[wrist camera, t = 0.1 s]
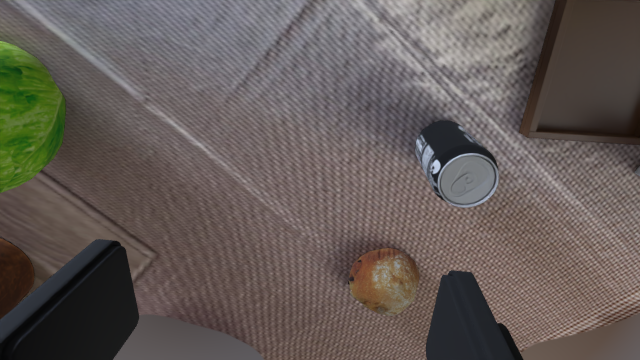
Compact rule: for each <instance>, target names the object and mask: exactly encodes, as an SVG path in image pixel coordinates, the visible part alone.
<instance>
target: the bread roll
mask: <svg viewBox="0 0 640 360" xmlns="http://www.w3.org/2000/svg"><path fill="white" fill-rule="evenodd" d="M418 281H419V271H418V268H417V265H416V263H415V261H414V260H413V259H412V258H411V257H410V256H408V255H407V254H405V253H404V252H402V251H399V250H396V249H392V248H385V249H378V250H374V251H370V252H367V253H365V254H364V255H363V256H361V257H360V258H359V259H358V260H357V261H356V262H355V263H354V264H353V266H352V269H351V271H350V275H349V281H348V284H349V285H350V290H352V291H351V292H350V294H351V296H353V297H354V298H355V299H357V300H359V301H360V302H361V303H362V304H363V305H364V306H365V307H367V308H369V309H370V310H372V311H374V312H376V313H379V314H382V315H386V316H393V315H397V314H399V313H401V312H402V311H403V310H405V309H406V308H407V307H408V306H409V305H410V304H411V302H413V301H414V297H415V295H416V294H415V293H416V290H417V285H418Z"/></svg>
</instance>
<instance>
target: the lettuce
mask: <svg viewBox="0 0 640 360" xmlns="http://www.w3.org/2000/svg"><path fill="white" fill-rule="evenodd" d="M65 114H66V105H65V98H64V96H63V95H62V93H61V92H60V90H59V88H58V87H57V85H56V84H55V82H54V80H53V79H52V77H51V75H50V73H49V72H48V70H47V68H46V67H45V66H44V65H43V64H42V63H41V62H40V61H39V60H38V59H37V58H36V57H35V56H33V55H31V54H29V53H27V52H26V51H24V50H22V49H20V48H18V47H16V46H15V45H13V44H9V43H5V42H1V41H0V193H1V192H4V191H7V190H10V189H13V188H15V187H18V186H20V185H21V184H23V183H25V182H27V181H28V180H30V179H32V178H33V177H34V176H35V175H36V174H37V173H38V172H39V171H41V170H42V169H43V168H44V167H45V166H46V165H47V164H48V163H49V162H51V161H52V160H53V159H54V157H55V155H56V154H57V152H58V150H59V148H60V147H61V145H62V142H63V135H64V127H65Z"/></svg>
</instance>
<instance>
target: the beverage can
mask: <svg viewBox="0 0 640 360" xmlns="http://www.w3.org/2000/svg"><path fill="white" fill-rule="evenodd" d="M415 151H416V155H417V158H418V160H419V162H420V164H421V166H422V168H423V170H424V172H425V174H426V176H427V178H428V180H429V182H430V184H431V186H432V188H433V190H434V192H435V193H436V194H437V196H438V197H440V198H441V199H442V200H444V201H446V202H448V203H449V204H451V205H453V206H456V207H462V208H468V207H474V206H477V205H480V204H482V203H483V202H485V201H487V200H488V199H489V198H490V197H491V196H492V195H493V193H494V192H495V190H496V189H497V186H498V183H499V172H498V167H497V163H496V160H495V158H494V157H493V155H492V154H491V153H490V152H489V151H488V150H487V149H485V148H484V147H483V146H482V145H481V144H480V143H479V142H478V141H477V140H476V139H475V138H474V137H472V136H471V135H470V134H469V133H468V132H467V131H466V130H465V129H464V128H463V127H462V126H460V125H459V124H457V123H455V122H452V121H438V122H435V123H432V124H430V125H429V126H427V127H426V128H425V129H424V130H423V131H422V132H421V133H420V135H419V136H418V138H417V141H416V145H415Z"/></svg>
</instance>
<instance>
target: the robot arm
mask: <svg viewBox="0 0 640 360" xmlns="http://www.w3.org/2000/svg"><path fill="white" fill-rule="evenodd" d="M138 320H139V313H138V308H137V303H136V298H135V293H134V288H133V283H132V278H131V273H130V268H129V264H128V259H127V254H126V250H125V248H124V247H123V246H121V244H120V243H119V242H118V241H112V240H101V239H98V240H95V241H93V242H92V243H91V244H90V245H88V246H87V247H86V248H85V249H84V250H83V251H81V252H80V253H79V254H78V255H77V256H75V257H74V258H73V259H72V260H71V261H69V262H68V263H67V264H66V265H65V266H63V267H62V268H61V269H60V270H59V271H57V272H56V273H55V274H54V275H53V276H52V277H50V278H49V279H48V280H47V281H46V282H44V283H43V284H42V285H41V286H40V287H38V288H37V289H36V290H35V291H34V292H32V293H31V294H30V295H29V296H28V297H27V298H25V299H24V300H23V301H22V302H21V303H19V304H18V305H17V306H16V307H15V308H13V309H12V310H11V311H10V312H9V313H7V314H6V315H5V316H4V317H3V318H2V319H0V360H113V358H114V357H115V356H116V354H117V353H118V351H119V350H120V349H121V347H122V346H123V344H124V343H125V342H126V340H127V339H128V337H129V336H130V335H131V333H132V331H133V330H134V329H135V327H136V326H137V323H138ZM426 356H427V360H523V358H522V356H521V354H520V352H519V350H518V348H517V346H516V344H515V342H514V340H513V338H512V336H511V335H510V333H509V331H508V329H507V328H506V326H505V325H503V324H501V323H497V322H496V320H495V318H494V316H493V314H492V312H491V310H490V308H489V306H488V304H487V302H486V300H485V298H484V296H483V293H482V291H481V289H480V287H479V285H478V283H477V281H476V279H475V277H474V275H473V274H472V273H471V272H463V271H452V270H451V271H450V272H449V273H448V275H443V276H442V278H441V281H440V286H439V290H438V295H437V299H436V303H435V308H434V312H433V316H432V321H431V325H430V330H429V334H428V338H427V343H426Z"/></svg>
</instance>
